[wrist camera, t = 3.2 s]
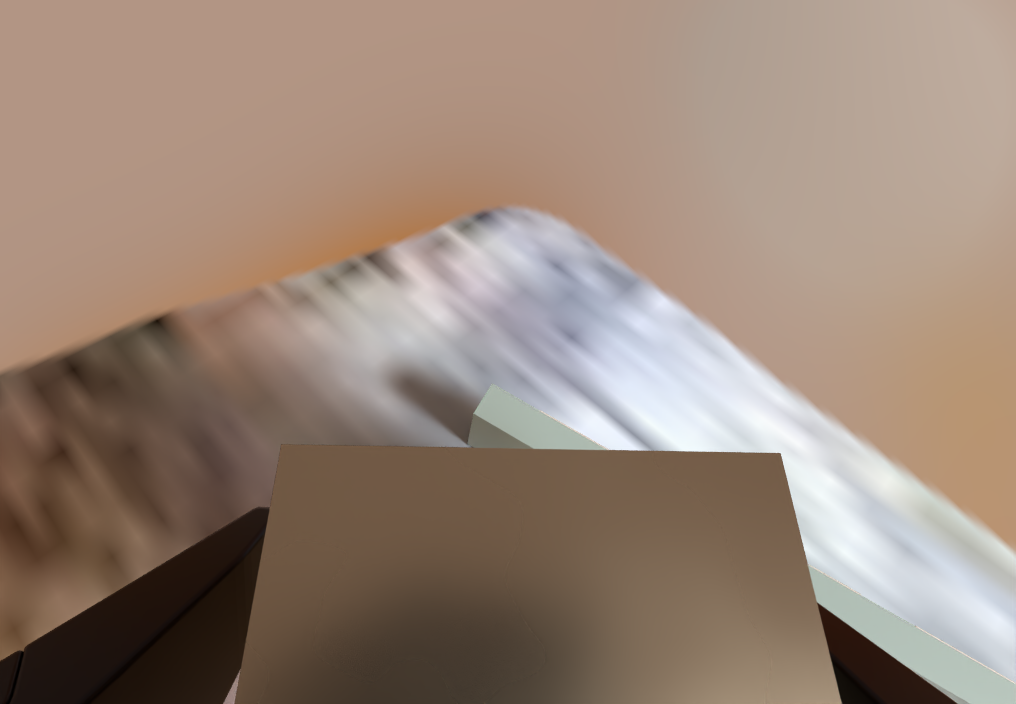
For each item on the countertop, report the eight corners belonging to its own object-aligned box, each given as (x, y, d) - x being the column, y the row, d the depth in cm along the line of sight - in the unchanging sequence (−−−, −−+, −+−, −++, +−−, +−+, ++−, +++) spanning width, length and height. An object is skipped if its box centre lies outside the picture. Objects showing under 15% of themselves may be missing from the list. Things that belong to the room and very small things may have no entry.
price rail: (467, 444, 16) (473, 413, 13) (485, 414, 17) (495, 378, 14) (1011, 766, 14) (1156, 812, 11) (1013, 721, 15) (1153, 754, 12)
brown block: (374, 709, 13) (160, 1112, 3) (388, 538, 15) (282, 438, 5) (567, 701, 14) (917, 1015, 4) (558, 538, 15) (779, 447, 5)
